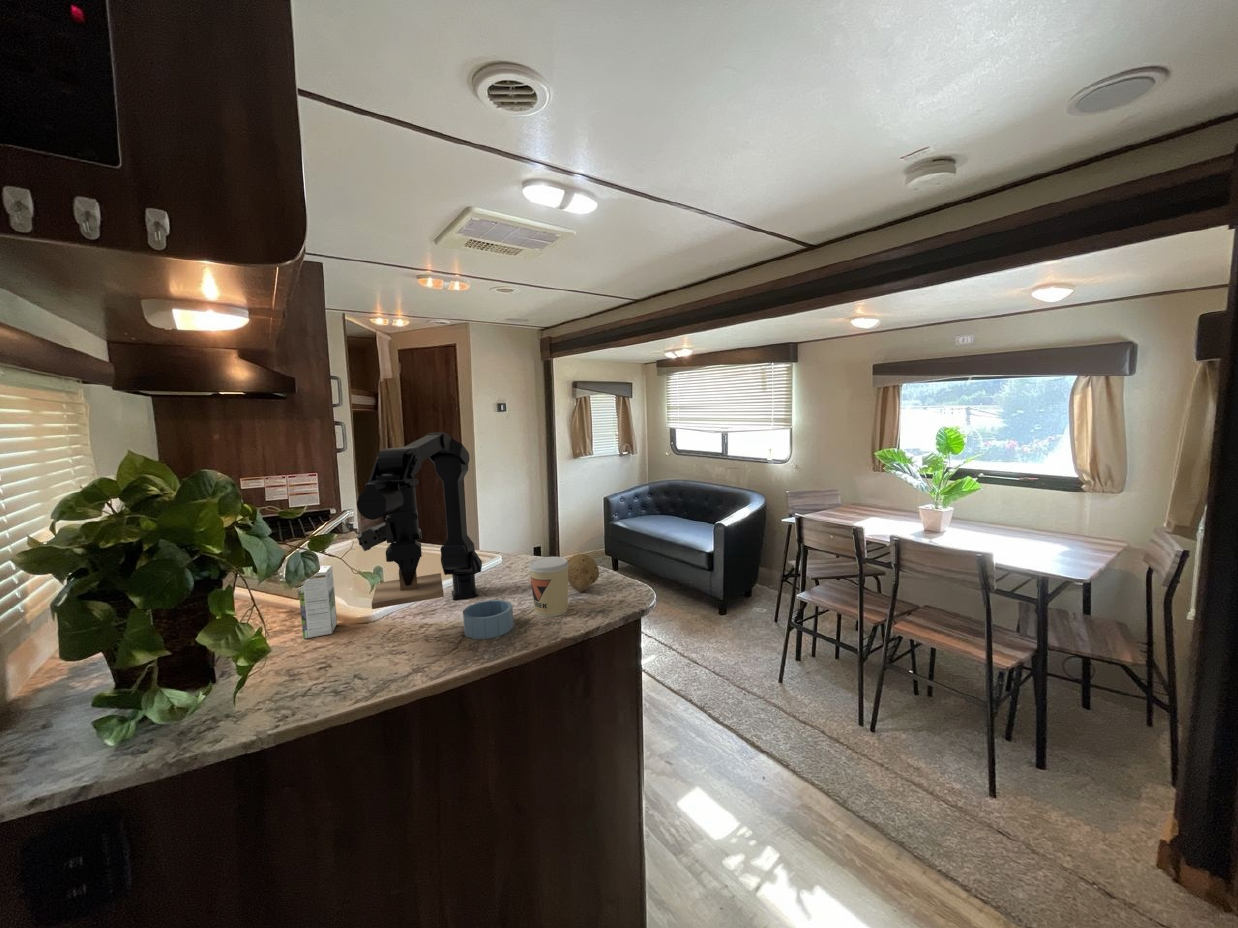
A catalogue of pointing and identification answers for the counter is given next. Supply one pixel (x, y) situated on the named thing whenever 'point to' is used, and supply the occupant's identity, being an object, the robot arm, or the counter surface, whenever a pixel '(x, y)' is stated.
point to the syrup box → (318, 604)
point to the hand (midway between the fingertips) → (408, 582)
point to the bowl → (488, 619)
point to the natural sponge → (582, 571)
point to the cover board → (407, 590)
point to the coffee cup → (549, 585)
